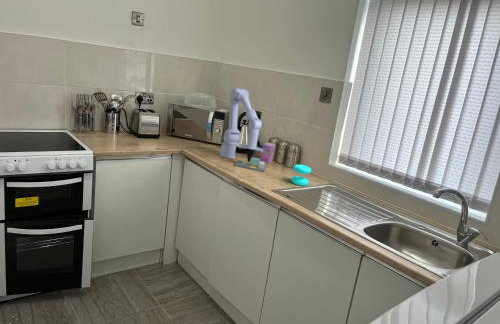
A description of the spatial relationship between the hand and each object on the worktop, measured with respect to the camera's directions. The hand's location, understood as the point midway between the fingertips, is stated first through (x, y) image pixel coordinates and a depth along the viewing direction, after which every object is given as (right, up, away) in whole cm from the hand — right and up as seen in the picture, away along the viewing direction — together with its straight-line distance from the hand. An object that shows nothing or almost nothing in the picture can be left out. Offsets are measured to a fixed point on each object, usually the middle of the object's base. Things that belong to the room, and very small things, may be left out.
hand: (248, 161), depth 232 cm
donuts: (+28, -13, -16) cm, 35 cm away
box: (+12, 0, +22) cm, 25 cm away
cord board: (+1, -3, +1) cm, 3 cm away
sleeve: (+4, -2, 0) cm, 4 cm away
